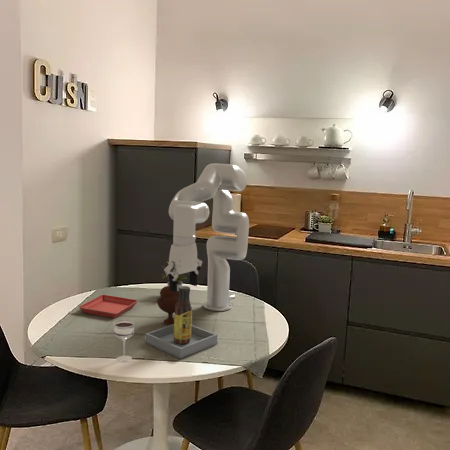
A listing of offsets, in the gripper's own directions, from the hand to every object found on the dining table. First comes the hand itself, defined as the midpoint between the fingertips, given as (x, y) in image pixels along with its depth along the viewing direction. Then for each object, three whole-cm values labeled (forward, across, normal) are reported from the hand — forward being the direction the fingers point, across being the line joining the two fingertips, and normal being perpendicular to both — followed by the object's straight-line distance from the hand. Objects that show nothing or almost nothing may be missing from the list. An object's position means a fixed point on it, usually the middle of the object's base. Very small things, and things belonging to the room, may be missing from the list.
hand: (183, 288), depth 170 cm
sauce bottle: (+20, 0, 0) cm, 20 cm away
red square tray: (+21, -1, -46) cm, 50 cm away
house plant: (+22, -34, -43) cm, 59 cm away
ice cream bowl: (+21, -10, -18) cm, 29 cm away
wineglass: (+20, +23, -4) cm, 31 cm away
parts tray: (+20, +1, 0) cm, 20 cm away
